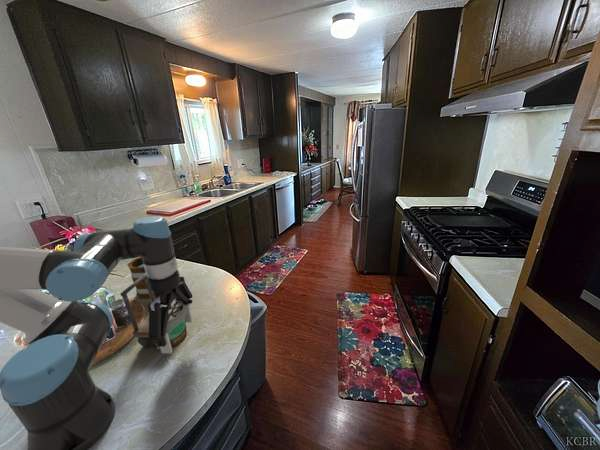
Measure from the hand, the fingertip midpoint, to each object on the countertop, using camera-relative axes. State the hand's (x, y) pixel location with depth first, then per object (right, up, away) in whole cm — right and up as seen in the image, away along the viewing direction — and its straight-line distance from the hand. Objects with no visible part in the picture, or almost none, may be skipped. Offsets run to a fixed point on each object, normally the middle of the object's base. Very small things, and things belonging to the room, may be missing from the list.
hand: (178, 335), depth 73 cm
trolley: (-11, -5, +11) cm, 16 cm away
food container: (0, -1, 0) cm, 1 cm away
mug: (-31, +5, +40) cm, 51 cm away
